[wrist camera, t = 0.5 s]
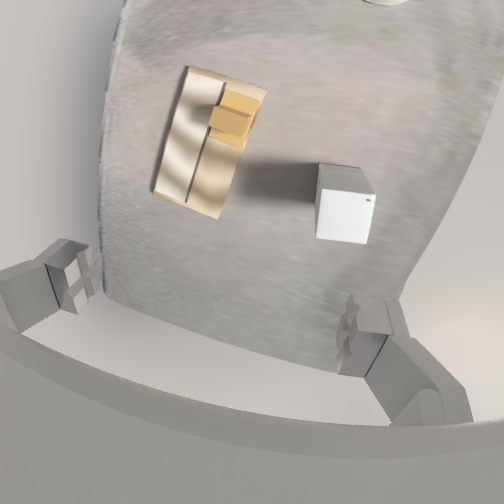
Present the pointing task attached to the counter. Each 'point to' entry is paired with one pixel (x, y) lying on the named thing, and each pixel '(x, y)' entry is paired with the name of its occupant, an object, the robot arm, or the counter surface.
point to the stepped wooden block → (233, 118)
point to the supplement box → (343, 204)
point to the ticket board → (201, 144)
